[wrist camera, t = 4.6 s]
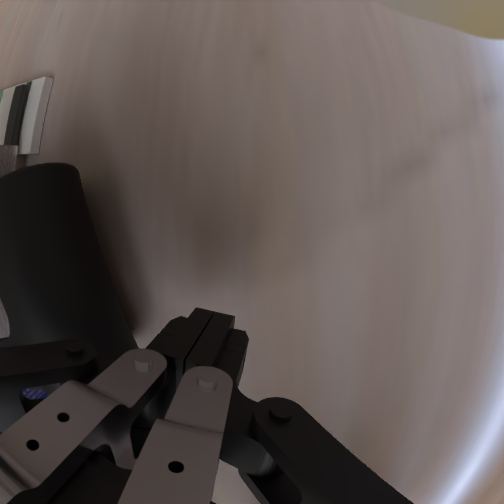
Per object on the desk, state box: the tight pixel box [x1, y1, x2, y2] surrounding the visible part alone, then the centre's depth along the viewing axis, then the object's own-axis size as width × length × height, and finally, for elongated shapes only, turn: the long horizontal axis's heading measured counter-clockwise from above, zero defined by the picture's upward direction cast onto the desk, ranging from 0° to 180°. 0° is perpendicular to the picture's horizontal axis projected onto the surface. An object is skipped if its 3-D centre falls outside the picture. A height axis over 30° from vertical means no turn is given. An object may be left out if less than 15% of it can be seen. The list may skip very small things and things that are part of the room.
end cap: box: [0, 163, 139, 396], centre depth 12 cm, size 10×7×7 cm
